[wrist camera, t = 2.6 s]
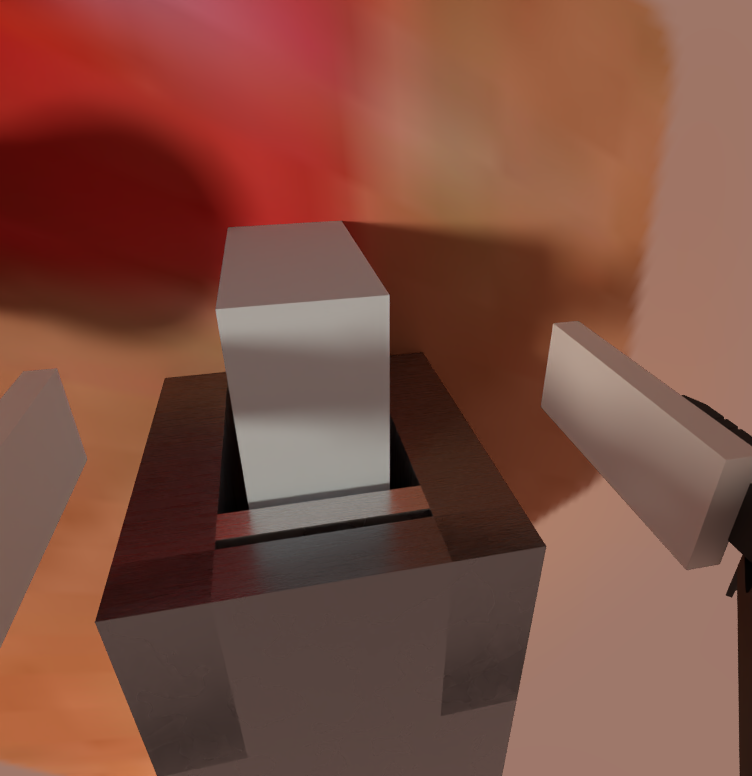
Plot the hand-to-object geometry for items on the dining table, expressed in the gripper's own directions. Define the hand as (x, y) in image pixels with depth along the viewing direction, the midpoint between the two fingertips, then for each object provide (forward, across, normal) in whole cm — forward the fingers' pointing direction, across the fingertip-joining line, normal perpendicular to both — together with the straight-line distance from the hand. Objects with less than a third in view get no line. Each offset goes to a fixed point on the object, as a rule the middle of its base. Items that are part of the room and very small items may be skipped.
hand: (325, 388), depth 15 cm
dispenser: (+12, 0, -12) cm, 17 cm away
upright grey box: (+12, 0, -3) cm, 12 cm away
